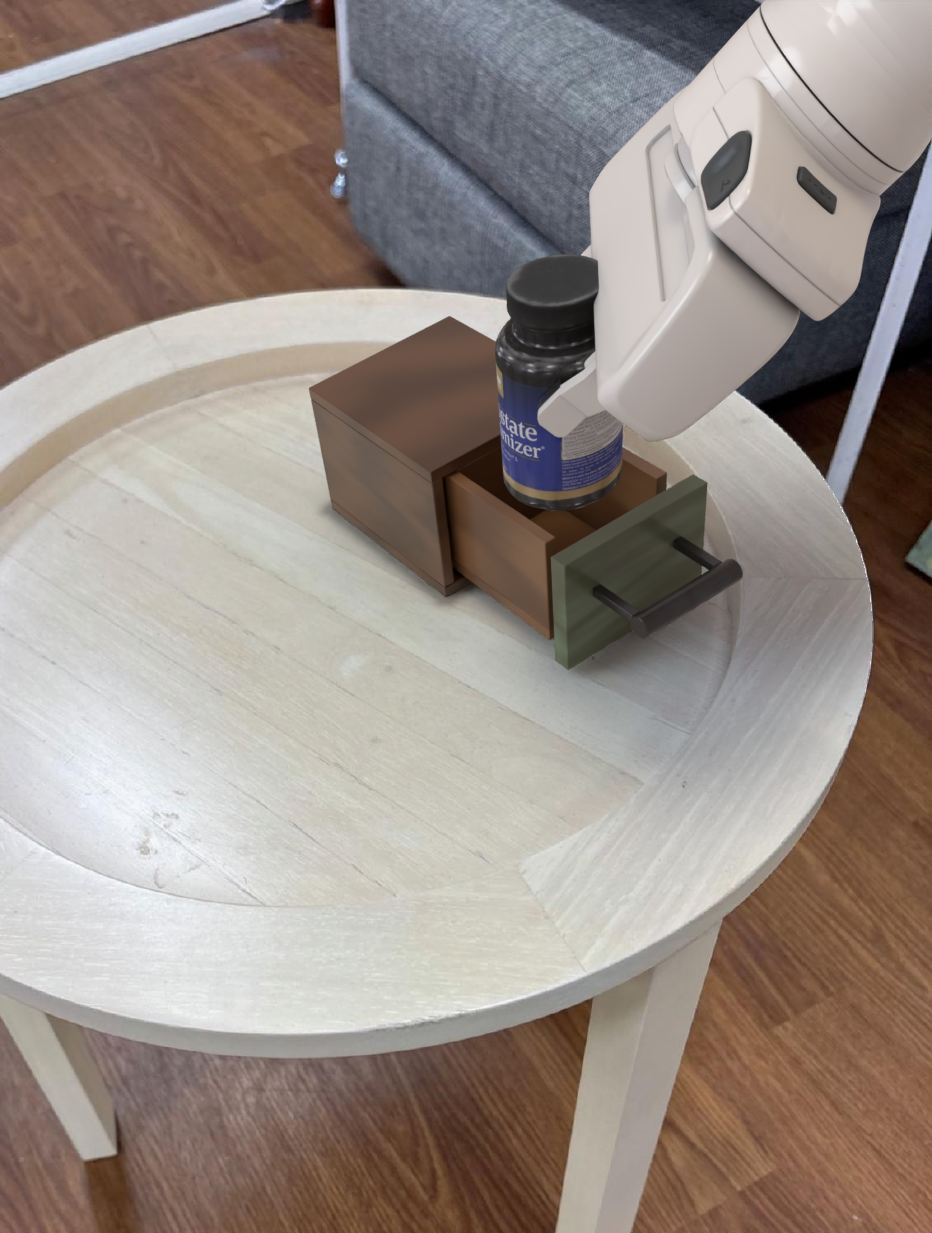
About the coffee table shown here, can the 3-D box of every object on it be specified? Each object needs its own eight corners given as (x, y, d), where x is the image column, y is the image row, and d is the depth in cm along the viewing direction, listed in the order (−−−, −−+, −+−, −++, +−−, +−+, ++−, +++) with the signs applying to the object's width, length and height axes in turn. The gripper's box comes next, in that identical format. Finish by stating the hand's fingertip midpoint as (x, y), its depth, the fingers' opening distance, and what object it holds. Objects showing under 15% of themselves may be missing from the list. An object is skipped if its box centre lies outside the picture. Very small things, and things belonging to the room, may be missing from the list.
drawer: (758, 626, 76) (771, 518, 70) (622, 712, 74) (623, 607, 68) (566, 502, 87) (563, 399, 81) (441, 574, 84) (428, 472, 78)
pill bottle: (483, 472, 70) (466, 275, 61) (583, 430, 70) (579, 231, 62) (542, 530, 66) (531, 328, 57) (646, 486, 66) (651, 280, 58)
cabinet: (585, 517, 87) (582, 389, 80) (446, 597, 84) (430, 472, 77) (461, 437, 95) (449, 315, 88) (331, 508, 93) (308, 387, 85)
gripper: (704, 3, 60) (503, 236, 69) (747, 216, 47) (492, 467, 56) (797, 92, 62) (590, 306, 71) (861, 318, 49) (599, 542, 59)
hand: (547, 379), depth 64 cm, fingers closed on pill bottle, 6 cm apart
